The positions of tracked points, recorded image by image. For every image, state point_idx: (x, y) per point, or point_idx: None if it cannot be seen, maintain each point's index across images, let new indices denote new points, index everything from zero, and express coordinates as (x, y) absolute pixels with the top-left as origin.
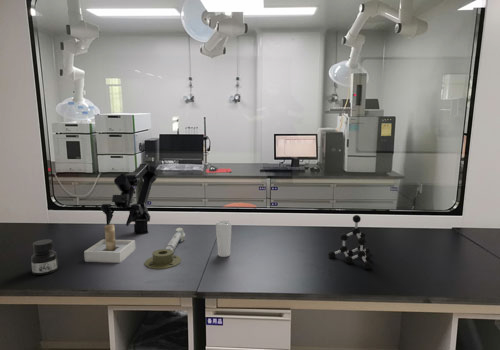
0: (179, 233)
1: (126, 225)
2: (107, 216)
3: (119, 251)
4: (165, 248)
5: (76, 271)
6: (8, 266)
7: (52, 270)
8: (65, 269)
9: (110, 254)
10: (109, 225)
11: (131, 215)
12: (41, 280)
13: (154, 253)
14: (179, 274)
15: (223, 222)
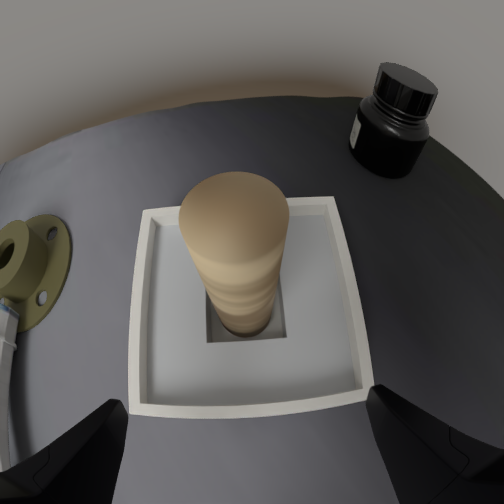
0: None
1: (121, 404)
2: (448, 441)
3: (148, 220)
4: (2, 324)
5: (285, 157)
6: (480, 180)
7: (350, 139)
8: (334, 165)
9: None
10: (239, 221)
11: (19, 464)
12: (334, 117)
13: (23, 239)
14: (8, 204)
15: None
